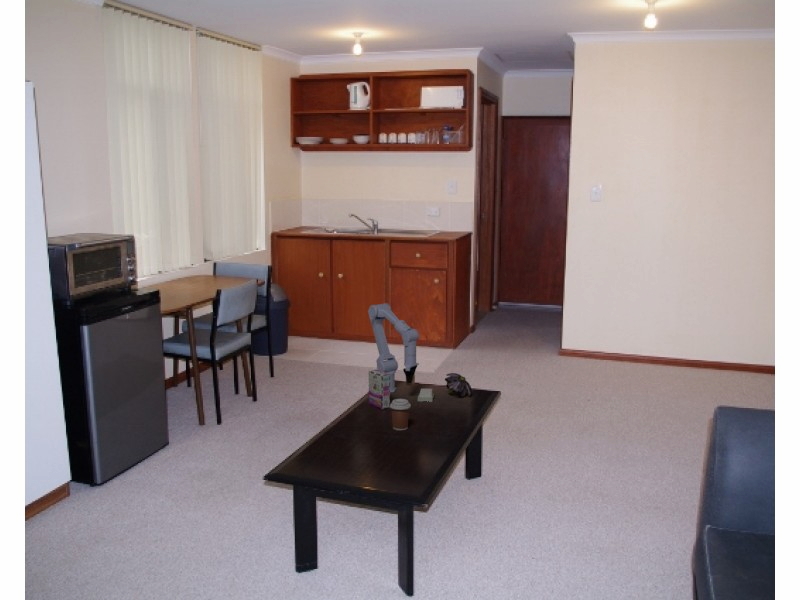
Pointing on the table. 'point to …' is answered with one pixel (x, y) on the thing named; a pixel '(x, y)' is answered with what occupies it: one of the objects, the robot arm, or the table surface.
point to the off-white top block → (426, 393)
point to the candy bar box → (379, 389)
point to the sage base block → (426, 398)
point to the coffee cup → (400, 413)
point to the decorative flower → (458, 384)
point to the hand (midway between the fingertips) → (410, 381)
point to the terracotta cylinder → (412, 381)
